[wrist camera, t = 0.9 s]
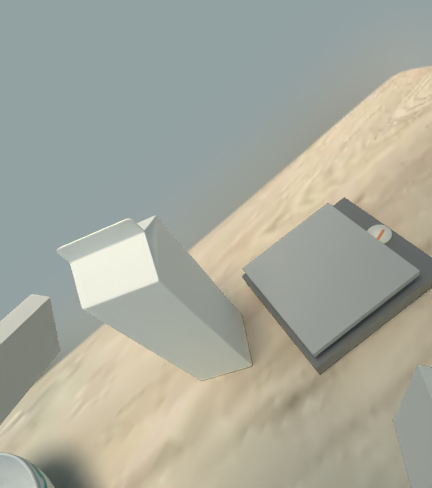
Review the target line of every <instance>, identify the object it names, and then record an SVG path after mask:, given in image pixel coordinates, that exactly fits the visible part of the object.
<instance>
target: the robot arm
mask: <svg viewBox="0 0 432 488" xmlns="http://www.w3.org/2000/svg"><path fill="white" fill-rule="evenodd" d="M59 352H60V347H59V342H58V336H57V331H56V326H55V321H54V316H53V311H52V305H51V300H50V297H46V296H41V295H35V294H31V295H30V296H29V297H28V298H26V299H25V300H24V301H23V302H22V303H21V304H20V305H18V306H17V307H16V308H15V309H14V310H13V311H12V312H10V313H9V314H8V315H7V316H6V317H5V318H4V319H2V320H1V321H0V425H1V423H2V422H3V421H4V420H5V418H6V417H7V416H8V415H9V414H10V412H11V411H12V410H13V409H14V407H15V406H16V405H17V404H18V403H19V401H20V400H21V399H22V398H23V396H24V395H25V394H26V393H27V392H28V390H29V389H30V388H31V387H32V385H33V384H34V383H35V382H36V380H37V379H38V378H39V377H40V376H41V374H42V373H43V372H44V371H45V369H46V368H47V367H48V366H49V365H50V363H51V362H52V361H53V360H54V358H55V357H56V356H57V355H58V353H59ZM393 422H394V426H395V430H396V433H397V437H398V441H399V444H400V448H401V452H402V455H403V459H404V463H405V466H406V470H407V474H408V477H409V481H410V485H411V488H432V367H428V366H422V365H417V368H416V370H415V372H414V374H413V376H412V379H411V381H410V383H409V385H408V388H407V390H406V392H405V394H404V396H403V399H402V401H401V403H400V405H399V407H398V410H397V412H396V414H395V416H394V418H393Z"/></svg>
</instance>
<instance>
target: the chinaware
mask: <svg viewBox="0 0 432 488" xmlns="http://www.w3.org/2000/svg"><path fill="white" fill-rule="evenodd" d="M0 488H54V486H53V484H52V483H51V481H50V480H49V478H48V477H47V476H46V475H45V474H44V473H43V472H42V471H41V470H40V469H39V468H38V467H36V466H35V465H34V464H32V463H31V462H29V461H27V460H25V459H23V458H21V457H19V456H16V455H14V454H10V453H0Z"/></svg>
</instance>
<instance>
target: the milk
mask: <svg viewBox="0 0 432 488" xmlns="http://www.w3.org/2000/svg"><path fill="white" fill-rule="evenodd" d="M57 253H58V254H59V255H60V256H62V257H63V258H64V259H66V260H67V261H68V262H70V264H71V268H72V272H73V276H74V280H75V284H76V288H77V291H78V295H79V299H80V303H81V307H82V309H83V310H85V311H86V312H88V313H89V314H91V315H93V316H94V317H96V318H98V319H99V320H101V321H103V322H104V323H106V324H108V325H109V326H111V327H112V328H114V329H116V330H117V331H119V332H121V333H122V334H124V335H126V336H127V337H129V338H131V339H132V340H134V341H136V342H137V343H139V344H141V345H142V346H144V347H146V348H147V349H149V350H150V351H152V352H154V353H155V354H157V355H159V356H160V357H162V358H164V359H165V360H167V361H169V362H170V363H172V364H174V365H175V366H177V367H179V368H180V369H182V370H184V371H185V372H187V373H188V374H190V375H192V376H193V377H195V378H197V379H198V380H200V381H203V380H206V379H210V378H213V377H217V376H220V375H224V374H227V373H230V372H234V371H237V370H241V369H244V368H248V367H251V366H252V361H251V356H250V352H249V347H248V342H247V337H246V332H245V327H244V322H243V318H242V315H241V313H240V312H239V311H238V310H237V309H236V308H235V306H234V305H233V304H232V303H231V302H230V301H229V299H228V298H227V297H226V296H225V295H224V294H223V293H222V291H221V290H220V289H219V288H218V287H217V286H216V284H215V283H214V282H213V281H212V280H211V279H210V277H209V276H208V275H207V274H206V273H205V272H204V270H203V269H202V268H201V267H200V266H199V265H198V263H197V262H196V261H195V260H194V259H193V258H192V256H191V255H190V254H189V253H188V252H187V251H186V249H185V248H184V247H183V246H182V245H181V244H180V242H179V241H178V240H177V239H176V238H175V237H174V235H173V234H172V233H171V232H170V231H169V230H168V228H167V227H166V226H165V225H164V224H163V223H162V221H161V220H160V219H159V218H158V217H157V216H156V215H155V216H153V217H150V218H148V219H146V220H143V221H141V222H139V223H136V222H135V221H134V220H132V219H125V220H123V221H120V222H118V223H115V224H113V225H111V226H109V227H106V228H104V229H101V230H99V231H97V232H95V233H92V234H90V235H88V236H85V237H83V238H81V239H78V240H76V241H74V242H71V243H69V244H67V245H64V246H62V247H60V248H58V249H57Z"/></svg>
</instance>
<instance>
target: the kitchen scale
mask: <svg viewBox="0 0 432 488" xmlns="http://www.w3.org/2000/svg"><path fill="white" fill-rule="evenodd" d="M242 269H243V270H244V272H245V273H246V274H244V275H243V276H242V277H243V279H244V280H245V281H246V283H247V284H248V285H249V287H250V288H251V289H252V290H253V292H254V293H255V294H256V295H257V297H258V298H259V299H260V300H261V302H262V303H263V304H264V305H265V307H266V308H267V309H268V310H269V312H270V313H271V314H272V315H273V317H274V318H275V319H276V320H277V322H278V323H279V324H280V325H281V327H282V328H283V329H284V330H285V332H286V333H287V334H288V335H289V337H290V338H291V339H292V340H293V342H294V343H295V344H296V345H297V347H298V348H299V349H300V350H301V352H302V353H303V354H304V355H305V357H306V358H307V359H308V360H309V362H310V363H311V364H312V365H313V367H314V368H315V369H316V370H317V372H318V373H319V374H321V373H322V372H324V371H325V370H326V369H328V368H329V367H330V366H331V365H333V364H334V363H335V362H337V361H338V360H339V359H340V358H342V357H343V356H344V355H345V354H347V353H348V352H349V351H351V350H352V349H353V348H354V347H356V346H357V345H358V344H359V343H361V342H362V341H363V340H365V339H366V338H367V337H368V336H370V335H371V334H372V333H373V332H375V331H376V330H377V329H379V328H380V327H381V326H382V325H384V324H385V323H386V322H387V321H389V320H390V319H391V318H393V317H394V316H395V315H396V314H398V313H399V312H400V311H401V310H403V309H404V308H405V307H407V306H408V305H409V304H410V303H412V302H413V301H414V300H415V299H417V298H418V297H419V296H421V295H422V294H423V293H424V292H426V291H427V290H428V289H430V288H431V287H432V258H431V257H430V256H429V255H427V254H426V253H424V252H423V251H421V250H420V249H418V248H417V247H416V246H414V245H413V244H411V243H410V242H408V241H407V240H405V239H404V238H403V237H401V236H400V235H398V234H397V233H395V232H394V231H392V230H391V229H390V228H389V227H387V226H385V225H384V224H382V223H381V222H379V221H378V220H376V219H375V218H374V217H372V216H371V215H369V214H368V213H366V212H365V211H363V210H362V209H361V208H359V207H358V206H356V205H355V204H353V203H352V202H350V201H349V200H348V199H346V198H345V197H344V198H343V199H342V200H340V201H339V202H338V203H336V204H335V205H334V206H332V205H330V204H329V203H327V204H326V205H324V206H323V207H322V208H320V209H319V210H318V211H317V212H315V213H314V214H313V215H311V216H310V217H309V218H307V219H306V220H305V221H304V222H302V223H301V224H300V225H298V226H297V227H296V228H294V229H293V230H292V231H291V232H289V233H288V234H287V235H285V236H284V237H283V238H281V239H280V240H279V241H278V242H276V243H275V244H274V245H272V246H271V247H270V248H268V249H267V250H266V251H265V252H263V253H262V254H261V255H259V256H258V257H257V258H255V259H254V260H253V261H252V262H250V263H249V264H248V265H246V266H245V267H244V268H242Z"/></svg>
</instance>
